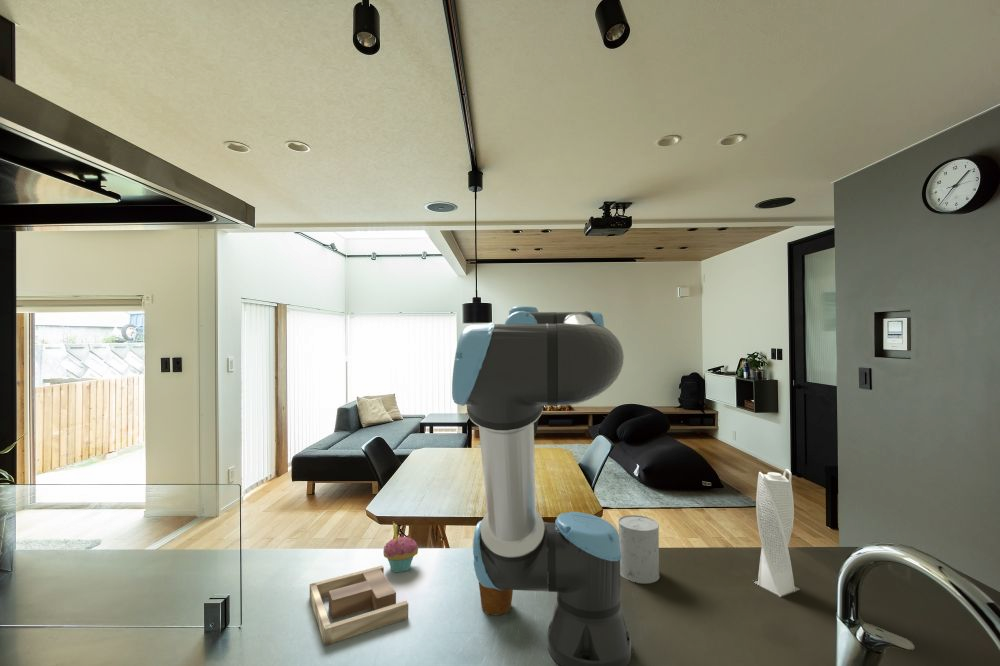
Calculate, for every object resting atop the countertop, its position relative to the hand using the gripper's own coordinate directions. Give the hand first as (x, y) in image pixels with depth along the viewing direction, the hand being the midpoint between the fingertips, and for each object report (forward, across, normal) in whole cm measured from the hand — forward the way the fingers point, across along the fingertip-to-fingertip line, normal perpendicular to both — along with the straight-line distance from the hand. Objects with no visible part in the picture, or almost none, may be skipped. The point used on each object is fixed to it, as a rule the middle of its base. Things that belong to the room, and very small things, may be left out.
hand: (524, 462), depth 112 cm
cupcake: (+27, +17, +26) cm, 41 cm away
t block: (+27, +5, +39) cm, 47 cm away
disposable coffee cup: (+27, -10, +14) cm, 32 cm away
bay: (+26, +5, +39) cm, 47 cm away
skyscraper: (+27, -37, -45) cm, 64 cm away
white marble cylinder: (+27, -16, -23) cm, 39 cm away
